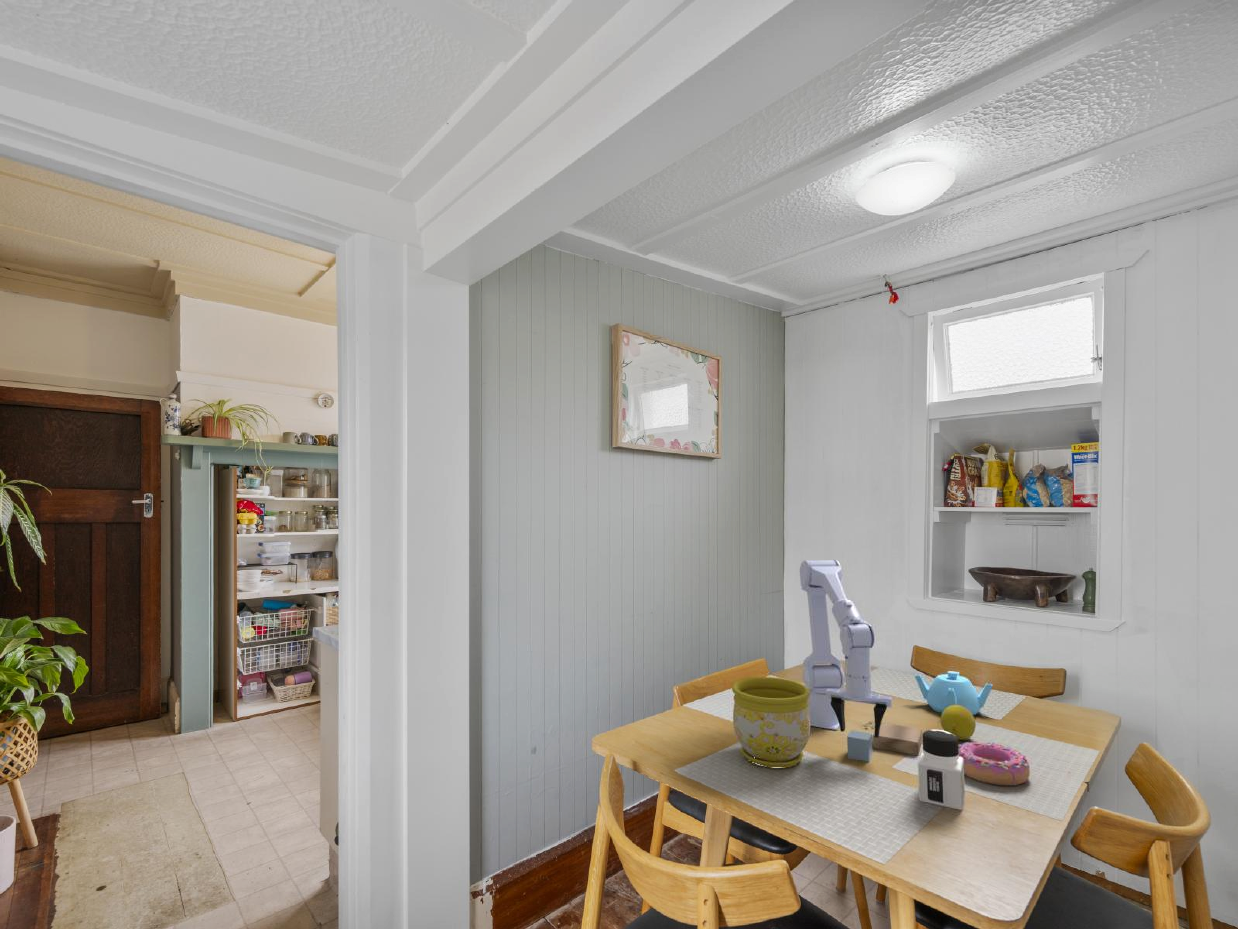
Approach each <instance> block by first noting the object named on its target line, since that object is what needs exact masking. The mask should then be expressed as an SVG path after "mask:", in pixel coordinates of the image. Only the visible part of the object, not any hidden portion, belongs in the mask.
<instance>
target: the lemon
mask: <svg viewBox="0 0 1238 929" xmlns="http://www.w3.org/2000/svg"><path fill="white" fill-rule="evenodd" d="M940 725H941V727H942V730H943V731H947V732H949V733H951V734H953V735H955V736H956V737H957V738H958V741H964V740H968V739H970V738H971V737H973V734H974V733H975V730H976V718H975V716H973V715H972V714H971V712H970V711H969V710H968V709H966V708H965V707H963V706H960V705H952V706H949V707H947V708H946V709H945V710H944V711H943V713H941V714H940Z"/></svg>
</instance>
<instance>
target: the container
mask: <svg viewBox="0 0 1238 929" xmlns="http://www.w3.org/2000/svg"><path fill="white" fill-rule="evenodd" d="M958 745H959V740H958V738H957V737H956V736H955V735H953V734H951V733H949V732H947V731H944V730H943V729H942V730H941V729H929V730H928V729H927V730H925V731H924V732H922V750H921V753H920V755H919V756H920V757H919V759H918V762H917V774H918V775H917V776H918V778H917V779H918V799H919V801H920V802H923V803H927V804H932V805H936V806H941V807H946V808H950V809H955V810H957V811H962V810H963V807H964V803H965V802H964V800H965V795H966V793H965V792H966V791H965V790H966V789H965V788H966V787H965V774H964V759H963V758H962V757H959V749H958Z"/></svg>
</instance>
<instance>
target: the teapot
mask: <svg viewBox="0 0 1238 929" xmlns="http://www.w3.org/2000/svg"><path fill="white" fill-rule="evenodd" d="M914 678H915V680H916V683H917V685H918V687H919V690H920V692H921V695H922V697H923V698H924V700H926V702H927V704H928V705H929V707H930V708H931V709H932V710H933V711H935V712H937V713H939V712H940V714H942V713H943V711H944V710H945V709H946V708H947V707H949V706H952V705H960V706H963V707H965V708H966V709H968V710H969V711H970V712H971V714H972V715H974V716H976V715H977V714H978V713H979V712H980V711H981V709H982V708H984V706H985V704H986V702H987V699H988V698H989V695H990V693H991V691H992V688H993V684H992V683H985V685H984V687H983V688H982V690H981V691H980V692H979V693H978V691H977V689H976V688H975V687H974V685H973V684H972V682H971V681H970V680H969V678H967V677H965V676H961V675H960V671H953V670H949V671H946V673H945V674H939V675H937V676H936V677H934V679H933V680H932V682H931V684H930V685H929V686H928V684H927V682H926V681H925V679H924V678H923V676H922V675H921V674H915V675H914Z"/></svg>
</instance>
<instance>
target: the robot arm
mask: <svg viewBox="0 0 1238 929" xmlns="http://www.w3.org/2000/svg"><path fill="white" fill-rule="evenodd" d="M842 576H843V574H842V565H841V564H840V562H839V561H838V560H837V559H831V560H830V559H828V560H827V559H826V560H808V559H804V560H802V562H801V563H800V567H799V578H800V580H799V581H800V586H801V590H802V591H803V592H806V596H807V603H808V615H809V626H810V638H811V647H812V650H811V651H812V652H811V653H810V654H809V655H808V656H806V658H805V659H804V660H803V665H802V666H803V667H802V668H803V669H802V680H803V683H804V684H803V685H805V686H806V687H808V688H809V690H810V696H809V697H808V701H809V705H808V709H809V715H810V727H816V728H821V729H822V728H823V729H828V730H835V731H837V730H838V729H839V731H840V732H842V733H844V732H845V731H846V719H845V704H846V702H845V701H847V702H856V703H862V704H870V705H874V707H873V715H874V716H873V717H874V732H875V737H877V738H878V737H879V731H880V725H881V723H883V722H882V721H883V719H884V715H885V713H886V711H887V708H892V707H893V698H892V696H887V695H882V694H878V693H873V692H872V676H871V675H872V674H871V673H872V670H871V649H872V648H873V647H874V645H875V632H874V630H873V626H872V625H871V624H870V623H868V622H867V621H866V620H863V619H862V616H861V615H860V613H859V611H858V609H857V607H856V605H855V604H854V602H853V601H852V600H849V599H847V596H846V593H845V590H844V587H843V586H842ZM827 596H828V598H829V600H830V601H831V603H832V607H831V612H832V615H833V617H834V620H835V622H836V623H837V626H838V628H839V630H840V631H839V639H840V640H839V641H840V643H841V649H842V650H841V652H842V654H843V655H844V669H843V666H842V661H841V660H840V659H839V658H838V657H837V656H836V655H834V654H833V653H832V646H831V645H832V644H831V637H830V636H831V635H830V626H829V618H828V617H829V615H828V607H827V606H828V605H827ZM844 672H845V673H844ZM844 686H845V689H843V687H844Z"/></svg>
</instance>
